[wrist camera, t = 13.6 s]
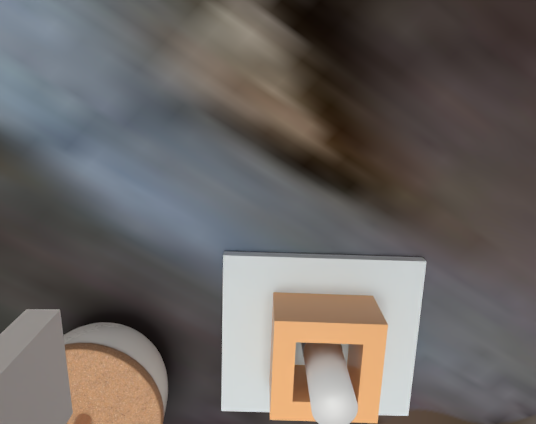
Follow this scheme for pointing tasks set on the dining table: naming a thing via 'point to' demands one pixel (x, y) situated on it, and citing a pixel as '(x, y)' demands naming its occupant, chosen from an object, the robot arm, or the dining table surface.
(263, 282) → the post stand
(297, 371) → the collar
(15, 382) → the robot arm
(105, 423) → the lidded jar
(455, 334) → the dining table surface
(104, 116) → the dining table surface
